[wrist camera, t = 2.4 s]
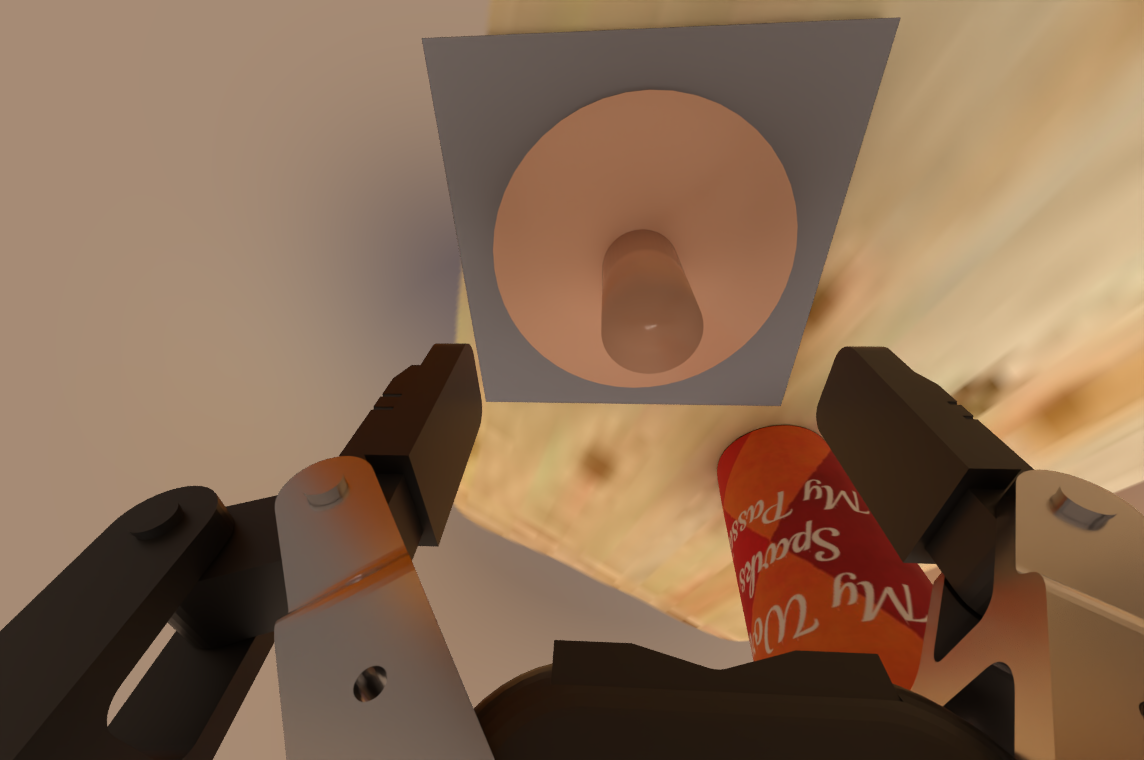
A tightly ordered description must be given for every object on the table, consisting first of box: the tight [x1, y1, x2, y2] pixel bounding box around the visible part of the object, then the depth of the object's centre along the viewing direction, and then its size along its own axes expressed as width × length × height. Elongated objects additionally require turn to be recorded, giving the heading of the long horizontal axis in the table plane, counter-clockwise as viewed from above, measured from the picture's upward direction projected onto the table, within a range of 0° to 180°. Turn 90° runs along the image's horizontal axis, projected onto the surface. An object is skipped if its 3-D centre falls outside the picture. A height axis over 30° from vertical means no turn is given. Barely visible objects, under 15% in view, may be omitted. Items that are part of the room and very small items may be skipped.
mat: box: [422, 18, 900, 406], centre depth 17 cm, size 14×14×1 cm
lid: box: [493, 89, 798, 388], centre depth 14 cm, size 11×11×6 cm
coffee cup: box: [717, 425, 933, 690], centre depth 18 cm, size 8×8×15 cm
